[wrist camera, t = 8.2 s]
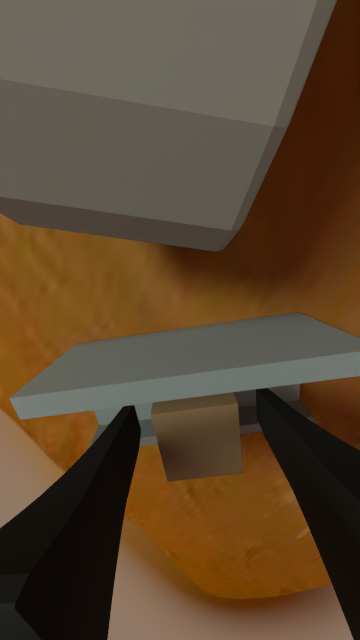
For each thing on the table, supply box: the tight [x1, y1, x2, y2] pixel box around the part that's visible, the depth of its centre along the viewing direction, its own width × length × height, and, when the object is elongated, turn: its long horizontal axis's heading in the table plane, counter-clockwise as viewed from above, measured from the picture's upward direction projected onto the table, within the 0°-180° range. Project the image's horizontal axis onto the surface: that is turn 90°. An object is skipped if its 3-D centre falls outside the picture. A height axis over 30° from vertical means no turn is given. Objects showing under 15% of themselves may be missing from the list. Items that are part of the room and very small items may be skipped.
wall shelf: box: [9, 312, 360, 446], centre depth 12 cm, size 8×16×6 cm, turn 99°
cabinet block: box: [151, 392, 243, 481], centre depth 12 cm, size 5×4×5 cm
